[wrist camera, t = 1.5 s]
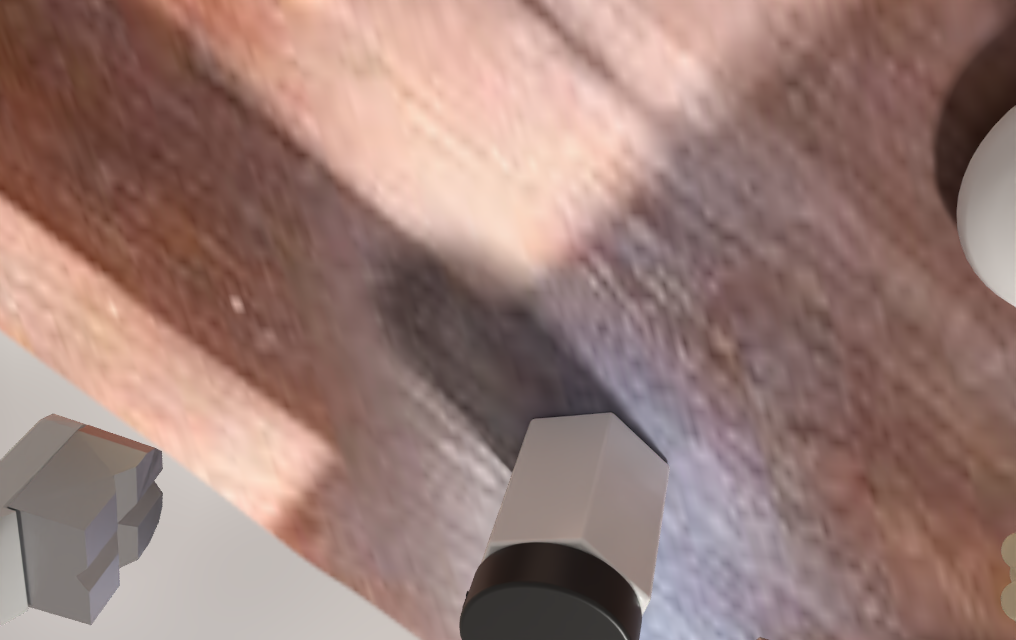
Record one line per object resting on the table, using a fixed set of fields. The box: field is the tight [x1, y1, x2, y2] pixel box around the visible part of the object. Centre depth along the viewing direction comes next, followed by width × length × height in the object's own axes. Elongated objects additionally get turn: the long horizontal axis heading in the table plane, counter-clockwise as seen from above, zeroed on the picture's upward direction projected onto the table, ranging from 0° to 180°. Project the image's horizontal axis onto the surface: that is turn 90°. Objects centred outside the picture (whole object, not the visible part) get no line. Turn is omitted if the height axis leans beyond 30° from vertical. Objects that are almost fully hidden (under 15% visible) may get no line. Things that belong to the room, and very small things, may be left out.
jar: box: [460, 412, 670, 640], centre depth 47 cm, size 9×8×12 cm
